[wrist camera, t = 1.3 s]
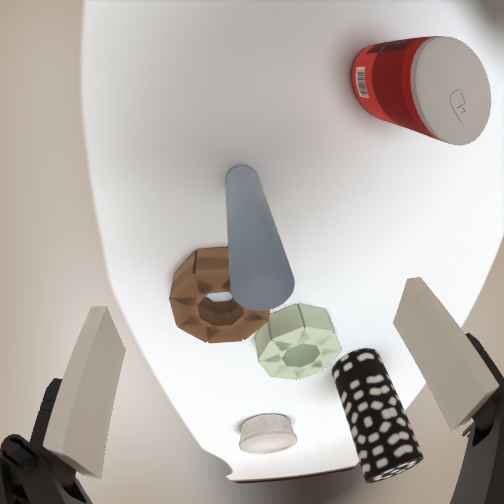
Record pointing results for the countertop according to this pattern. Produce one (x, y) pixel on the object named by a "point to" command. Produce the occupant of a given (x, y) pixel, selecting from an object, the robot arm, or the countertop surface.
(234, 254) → the dowel
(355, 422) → the spotted tube
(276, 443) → the ramekin
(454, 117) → the canned food
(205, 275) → the walnut bead
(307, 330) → the sage bead
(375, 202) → the countertop surface
